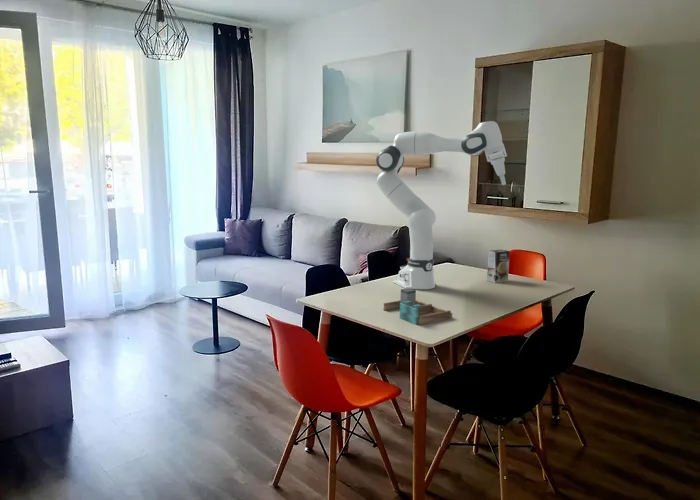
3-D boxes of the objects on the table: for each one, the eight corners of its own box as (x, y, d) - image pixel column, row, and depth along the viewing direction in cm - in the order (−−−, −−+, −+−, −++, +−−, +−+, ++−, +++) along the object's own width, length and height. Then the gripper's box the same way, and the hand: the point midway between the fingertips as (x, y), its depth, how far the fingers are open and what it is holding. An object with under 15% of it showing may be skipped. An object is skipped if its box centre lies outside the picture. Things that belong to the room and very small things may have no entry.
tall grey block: (400, 310, 217) (400, 289, 216) (408, 308, 219) (409, 288, 218) (406, 313, 214) (407, 291, 212) (415, 311, 216) (415, 290, 214)
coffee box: (495, 283, 266) (496, 252, 263) (486, 280, 271) (488, 250, 268) (508, 281, 270) (510, 250, 267) (499, 278, 275) (501, 248, 273)
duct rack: (381, 310, 217) (382, 294, 215) (415, 304, 226) (415, 289, 225) (417, 325, 198) (418, 308, 196) (452, 317, 207) (452, 301, 206)
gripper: (490, 158, 247) (497, 186, 248) (488, 156, 228) (496, 187, 228) (503, 154, 245) (511, 182, 246) (503, 152, 226) (511, 182, 226)
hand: (504, 184), depth 237 cm, fingers open, 8 cm apart
